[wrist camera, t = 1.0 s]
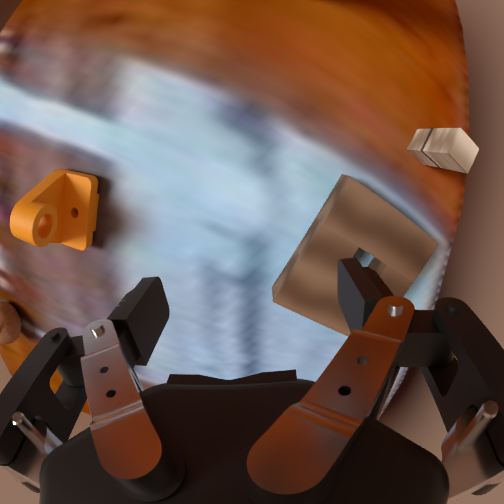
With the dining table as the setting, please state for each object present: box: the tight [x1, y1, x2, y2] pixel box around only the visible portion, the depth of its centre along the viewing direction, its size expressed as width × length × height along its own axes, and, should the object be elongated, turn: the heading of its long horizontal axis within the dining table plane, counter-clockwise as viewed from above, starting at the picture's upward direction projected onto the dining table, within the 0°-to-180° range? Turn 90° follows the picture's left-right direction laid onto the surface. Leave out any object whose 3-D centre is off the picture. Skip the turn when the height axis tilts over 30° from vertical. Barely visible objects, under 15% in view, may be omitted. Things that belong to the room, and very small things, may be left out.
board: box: [272, 174, 438, 336], centre depth 36 cm, size 18×16×4 cm
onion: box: [0, 302, 22, 344], centre depth 40 cm, size 10×9×10 cm
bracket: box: [10, 169, 99, 250], centre depth 30 cm, size 11×7×12 cm
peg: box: [407, 128, 479, 174], centre depth 27 cm, size 4×4×10 cm
